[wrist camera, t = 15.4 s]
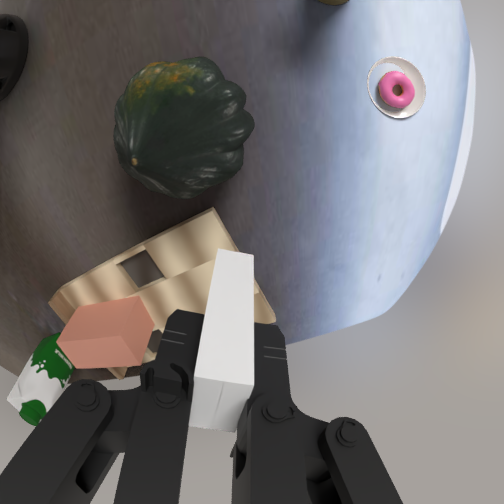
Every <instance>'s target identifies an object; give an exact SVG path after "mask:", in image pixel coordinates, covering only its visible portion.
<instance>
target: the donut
mask: <svg viewBox="0 0 504 504" xmlns="http://www.w3.org/2000/svg"><path fill="white" fill-rule="evenodd" d="M382 63H393V64H396V65H398V66H399V67H400V68H401V69H402V70H403V71H404V74H403V73H401V72H398V71H391V72H388V73H386V74H385V75H384V76H383V77H382V78H381V79H380V82H379V83H378V85H379V94H380V96H381V98H382V99H383V101H384V102H385V103H386V104H388V105H390V106H392V107H396V108H404V107H405V108H404V109H402V110H401V111H397V112H390V111H386V110H384V109H382V108H381V107H380V106H378V105H377V104H376V102H375V101H374V100H373V98H372V96H371V94H370V91H369V84H368V82H369V77H370V74H371V72H372V71H373V69H374V68H375V67H376V66H378V65H380V64H382ZM396 84H398V85H400V87H401V89H402V93H401V95H399V96H395V95H394V94H393V92H392V88H393V87H394V86H395V85H396ZM367 88H368V92H369V96H370V98H371V100H372V102H373V103H374V104H375V106H376V107H377V108H378V109H379V110H380V111H382V112H383V113H384V114H386V115H388V116H391V117H395V118H406V117H409V116H412V115H413V114H415V113H416V112H417V111H418V110H419V109H420V108H421V107H422V105H423V103H424V100H425V95H426V86H425V82H424V79H423V77H422V75H421V73H420V72H419V70H418V69H417V68H416V67H415V66H414V65H413V64H412V63H411V62H409V61H407V60H405V59H403V58H400V57H394V56H391V57H385V58H382V59H380V60H379V61H377V62H376V63H375V64H374V65H373V66H372V67H371V69H370V71H369V74H368V78H367Z"/></svg>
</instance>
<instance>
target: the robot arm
mask: <svg viewBox="0 0 504 504" xmlns="http://www.w3.org/2000/svg"><path fill="white" fill-rule="evenodd" d="M27 50H28V33H27V28H26V25H25V23H24V22H23V20H22V19H21V18H19V17H18V16H15V15H9V14H0V100H2V99H3V98H4V97H5V96H6V95H7V94H8V93H9V92H10V91H11V90H12V88H13V87H14V85H15V84H16V82H17V80H18V78H19V76H20V74H21V72H22V69H23V66H24V63H25V60H26V56H27ZM285 349H286V347H285V338H284V335H283V334H282V332H281V331H280V329H279V327H278V326H276V325H270V324H263V323H257V322H254V255H250V254H245V253H240V252H234V251H229V250H224V249H219V248H218V251H217V255H216V260H215V265H214V270H213V275H212V280H211V286H210V291H209V296H208V301H207V306H206V312H205V314H200V313H195V312H190V311H185V310H180V309H176V310H175V311H174V312H173V313H172V314H171V315H170V316H169V317H168V319H167V322H166V325H165V328H164V331H163V334H162V338H161V341H160V344H159V347H158V351H157V354H156V357H155V360H152V361H150V362H149V363H147V364H146V365H144V367H143V368H142V370H141V372H140V379H141V386H139V387H137V388H134V389H130V390H107V388H106V387H104V386H103V385H102V384H101V383H99V382H97V381H94V380H86V379H82V380H79V381H76V382H73V383H72V384H71V385H70V386H69V387H67V388H66V390H65V391H64V392H63V393H62V394H61V396H60V397H59V398H58V399H57V401H56V402H55V403H54V404H53V406H52V407H51V408H50V409H49V411H48V412H47V413H46V415H45V416H44V417H43V418H42V420H41V421H40V422H39V424H38V425H37V426H36V427H35V429H34V430H33V431H32V433H31V434H30V435H29V437H28V438H27V439H26V441H25V442H24V443H23V445H22V446H21V447H20V449H19V450H18V451H17V453H16V454H15V455H14V457H13V458H12V460H11V461H10V462H9V464H8V465H7V466H6V468H5V469H4V471H3V472H2V474H1V475H0V504H90V502H91V501H92V499H93V497H94V496H95V494H96V492H97V490H98V489H99V487H100V485H101V484H102V482H103V480H104V478H105V476H106V475H107V473H108V471H109V470H110V468H111V466H112V465H113V463H114V461H115V460H116V458H117V456H118V455H119V453H123V452H125V455H124V459H123V463H122V468H121V472H120V476H119V481H118V485H117V490H116V494H115V499H114V504H178V503H179V496H180V495H179V494H180V487H181V478H182V471H183V463H184V456H185V448H186V441H187V433H188V427H189V426H194V427H200V428H206V429H212V430H220V431H228V432H235V431H236V429H237V440H236V442H235V445H234V447H233V449H232V451H231V454H230V457H233V479H232V504H403V503H402V501H401V499H400V497H399V494H398V493H397V490H396V488H395V486H394V484H393V482H392V480H391V478H390V476H389V474H388V472H387V470H386V468H385V466H384V464H383V462H382V460H381V458H380V456H379V454H378V452H377V450H376V448H375V446H374V444H373V442H372V440H371V438H370V436H369V434H368V432H367V430H366V429H365V428H364V426H363V425H362V424H361V423H359V422H358V421H356V420H355V419H352V418H348V417H339V418H336V419H334V420H332V421H331V422H330V423H328V422H325V421H321V420H318V419H315V418H312V417H310V416H308V415H305V414H304V413H303V412H301V411H300V410H299V409H298V408H297V406H296V405H295V404H294V403H293V401H292V398H291V394H290V384H289V375H288V365H287V360H286V358H287V356H286V351H285Z"/></svg>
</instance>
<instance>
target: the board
mask: <svg viewBox="0 0 504 504" xmlns="http://www.w3.org/2000/svg"><path fill="white" fill-rule="evenodd" d="M218 248H219V249H224V250H229V251H234V252H239V251H238V249H237V247H236V246H235V244H234V242H233V240H232V239H231V237H230V235H229V233H228V232H227V230H226V228H225V226H224V224H223V223H222V221H221V219H220V217H219V216H218V214H217V212H216V210H215V209H214V207H212V208H210V209H208V210H206V211H204V212H201V213H199V214H197V215H195V216H193V217H191V218H189V219H187V220H185V221H183V222H181V223H179V224H177V225H175V226H173V227H171V228H169V229H167V230H165V231H163V232H161V233H159V234H157V235H155V236H153V237H151V238H149V239H147V240H146V241H144V242H142V243H140V244H138V245H136V246H134V247H132V248H130V249H128V250H126V251H125V252H123V253H121V254H119V255H117V256H115V257H113V258H112V259H110V260H108V261H106V262H104V263H102V264H101V265H99V266H97V267H95V268H93V269H92V270H90V271H88V272H86V273H84V274H83V275H81V276H79V277H77V278H76V279H74V280H72V281H70V282H69V283H67V284H65V285H63V286H62V287H60V288H59V289H58V290H57V292H56V293H55V294H54V296H53V297H52V298H51V300H50V301H49V302H48V304H49V305H50V306H51V307H52V309H53V310H54V311H55V312H56V313H57V315H58V316H59V317H60V318H61V319H62V320H63V322H64V323H65V324H66V325H67V323H68V322H69V320H70V319H71V317H72V315H73V314H74V312H75V311H76V309H77V308H78V307H79V306H85V305H90V304H96V303H101V302H107V301H112V300H117V299H123V298H126V297H127V298H128V297H133V296H138V295H139V296H140V298H141V300H142V302H143V304H144V306H145V307H146V309H147V311H148V313H149V315H150V317H151V318H152V320H153V322H154V324H155V325H154V328H153V330H154V331H152V334H151V336H150V339H149V342H148V345H147V348H146V351H145V354H144V357H143V360H142V363H146V362H150V361H152V360H155V357H156V354H157V351H158V347H159V344H160V341H161V338H162V334H163V331H164V328H165V325H166V322H167V319H168V317H169V316H170V315H171V314H172V313H173V312H174V311H175V310H176V309H180V310H185V311H190V312H195V313H200V314H205V312H206V306H207V301H208V296H209V291H210V286H211V280H212V275H213V270H214V265H215V260H216V255H217V251H218ZM254 322H257V323H263V324H270V323H273V322H276V317H275V314H274V312H273V310H272V308H271V307H270V305H269V303H268V302H267V300H266V298H265V296H264V295H263V293H262V291H261V289H260V288H259V286H258V284H257V282H256V281H255V279H254ZM142 363H141V364H142ZM128 367H131V366H125V367H107V369H108V370H110V371H111V372H112V373H113V374H114V375H115V376H116V377H117V378H118V379H119V380H120V379H124V376H125V373H126V371H127V368H128Z"/></svg>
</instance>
